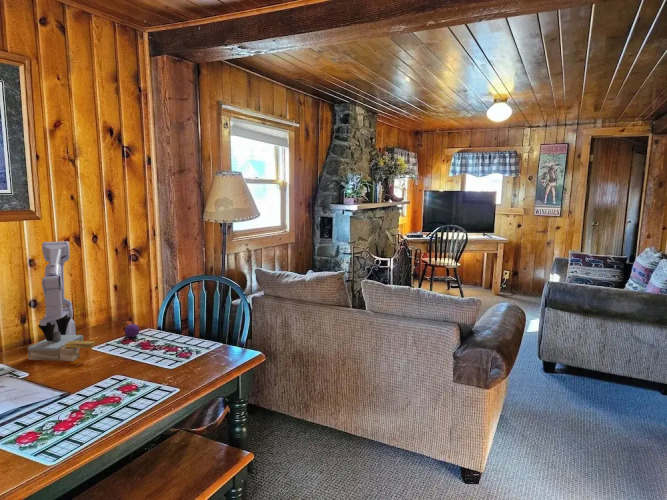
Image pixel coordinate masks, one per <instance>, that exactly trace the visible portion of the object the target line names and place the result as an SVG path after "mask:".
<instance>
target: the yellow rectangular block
mask: <svg viewBox="0 0 667 500" xmlns="http://www.w3.org/2000/svg"><path fill="white" fill-rule="evenodd" d="M95 343H96V342H95V341H88V340H87V341H86V340H85V341H69V342H67V343H65V347H74V348H80V349H82V348H84V349H91V348H93V347H94V346H95V345H96V344H95Z"/></svg>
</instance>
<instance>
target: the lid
mask: <svg viewBox="0 0 667 500" xmlns="http://www.w3.org/2000/svg"><path fill="white" fill-rule="evenodd" d="M81 338H83V339H84V335H81V334H76V335H61V334H60V332H53V341H47V340H46V338H45V339H43V340H41V341H38V342H36V343H35V344H32V345H29V346H27V351H28V350H47V351H58V350H60V348H61V347H63V346H65V343H67V342H69V341H77V340H79V339H81Z"/></svg>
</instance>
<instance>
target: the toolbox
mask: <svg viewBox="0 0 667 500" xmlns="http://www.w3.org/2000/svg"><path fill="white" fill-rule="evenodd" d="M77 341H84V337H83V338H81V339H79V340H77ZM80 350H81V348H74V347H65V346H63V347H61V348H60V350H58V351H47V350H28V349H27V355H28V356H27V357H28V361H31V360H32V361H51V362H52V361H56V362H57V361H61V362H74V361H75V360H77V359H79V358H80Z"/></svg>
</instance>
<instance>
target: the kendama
mask: <svg viewBox="0 0 667 500" xmlns="http://www.w3.org/2000/svg"><path fill="white" fill-rule="evenodd" d="M124 327H125V329H124V333H125V335H126V337H128V338H135V337H138V335H139V333H140V328H139V326H138V325H137V324H135V323H133V322H132V321H131V320H126V321H125V322H124Z"/></svg>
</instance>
